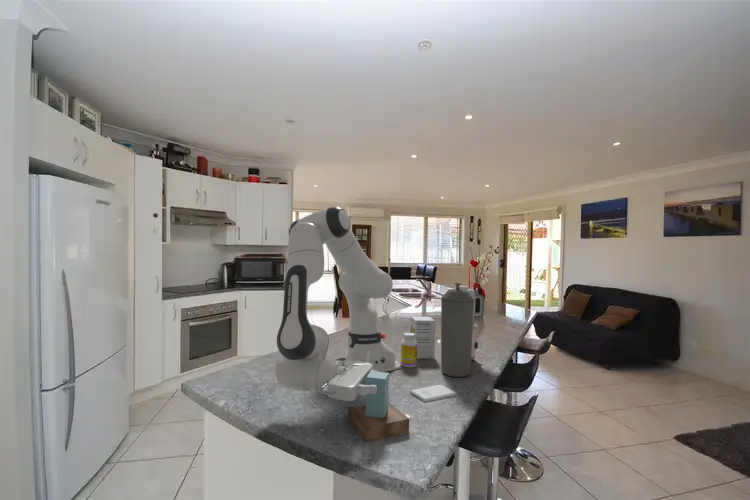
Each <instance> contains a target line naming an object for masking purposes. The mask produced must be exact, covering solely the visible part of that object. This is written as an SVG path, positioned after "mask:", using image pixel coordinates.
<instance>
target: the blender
mask: <svg viewBox="0 0 750 500" xmlns="http://www.w3.org/2000/svg"><path fill="white" fill-rule="evenodd" d="M459 288H460V289H461V290H466V291H467V292H468V293H469V294H470V295H471V296H472V298H473V299H474V308H473V323H474V320H475V319H476V318H477V319H478V318H479V319H480V318H482V317H484V316H485V315H484V313H485V298H484V296H483V294H480V293H476V291H475V289H472V288H469V286H467V285H459ZM450 289H456V287H454V288H447V291H448V290H450ZM476 298H477V299H479V301H480V303H479V304H480V306H479V313H476ZM473 329H474V328H473ZM473 329H472V347H471V361H472V360H473V361H474V360H475V359H476V358H475V357H476V349H478V348H479V343H478V342H477V341H476V335H475V333H474V330H473Z"/></svg>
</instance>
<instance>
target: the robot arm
mask: <svg viewBox="0 0 750 500" xmlns="http://www.w3.org/2000/svg"><path fill="white" fill-rule="evenodd" d="M288 236H289V238H288V246H287V271H286V272H287V273H286V276H285V283H284V294H283V295H284V296H283V307H282V319H281V323H280V325H279V328H278V331H277V334H276V335H277V336H276V346H277V350H278V352H279V353H280V354H281V357H280V358H279V359H278V360H277V362H276V364H275V377H276V380H277V383H278V384H280V385H281V386H282V387H283V388H287V389H289V390H295V391H300V392H309V391H311V392H315V393H317V394H322V395H323V394H324V395H327V396H328V397H329V398H331V399H333V400H339V401H344V402H354V401H355V400H356V398H357V397H359V395H366V394H370V393H371V394H376V393H377V392H378V386H377V385H373V384H371V385H366V377H367V376H368V374H369V373H370V372H371V371H374V372H384V373H388V372H390V371H395V370H399V369H401V368H402V365H401V362H399V361H397V360H396V355H395V352H394V350H393V349H391V347H389V346H388V345H387V344H386V343H385V342H383V341H382V339H383V340H385V339H386V337H387V335H386V334H385V333H381V332H379V331H378V323H379V322H378V320H379V318H378V315H379V314H378V312H377V309H376V308H375V307H374V306H373V304H372V302H371V299H373V300H376V299H385V298H387V297H388V296H389V295H390V294H391V292H392V290H393V285H394V284H393V279H392V276H390V274H388V273H387V272H385V271H383V269H381V268H380V267H378V266H377V264H375V263H374V262H373V260H371V259H370V258H369V257H368V256H367V254H366V253H365V251H364V250H363V248H362V246H361V245H360V243H359V241H358V239H357V238H356V236H355V234H354V231H352V229H351V220H350V216H349V215H348V213H347V212H346V210H344V209H343V208H341V206H340V207H339V206H331V207H328V208H326V209H325V208H324V209H322V210H318V211H314V212H312V213H310V214H308V215H306V216H304V217H302V218H298V219H296V220H295V221H293V222H292V223H291V224H290V226H289V228H288ZM324 244H325V246H326V248H327V250H328V251H329V253H330V254H331V257H332V258H333V260H334V262H335V263H336V264H337V266H338V268H339V269H340V270H341V271H342V272H341V273H340V275H339V276H338V277H339V278H338V287H339V289H340V290H341V291H342V292H343V294H344V296H345V298H346V299H345V300H346V302H347V306H348V309H349V331H348V334H347V335H348V336H347V346H348V349H347V356H346V357H340V358H336V359H325V358H326V356H327V352H328V349H329V344H330V337H329V335H328V332H327V331H326V330H325V329H324V328H322V327H320V326H319V325H315V324H311V323H310V320H309V318H308V296H309V295H308V294H309V293H308V292H309V288H310V286H311V285H314V284H315V283H317V282H318V281H320V279H321V278H322V277H323V275H324V270H325V254H324V253H325V252H324Z"/></svg>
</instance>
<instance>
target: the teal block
mask: <svg viewBox="0 0 750 500" xmlns="http://www.w3.org/2000/svg"><path fill="white" fill-rule="evenodd" d="M371 384H373V385H377V386H378V392H377V393H376V394H371V393H370V394H365V405H366V412H365V416H371V417H379V418H385V416H386V413H387V411H388V402H389V390H390V389H389V386H390V385H389V384H390V372H374V371H371V372H370V373H369V374H368V376H367V377H366V385H371Z"/></svg>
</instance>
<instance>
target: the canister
mask: <svg viewBox="0 0 750 500" xmlns="http://www.w3.org/2000/svg"><path fill="white" fill-rule="evenodd" d="M454 285H455V288H456V289H452V288H449V289H450V290H448V289H447V291H446V292H445V293H444V294H443V295H442V296H441V298H440V301H441V304H440V305H441V308H440V311H441V313H440V314H441V316H440V317H441V320H440V321H441V322H440V323H441V325H440V327H441V328H440V338H441V339H440V340H441V342H440V344H441V345H440V346H441V349H440V353H441V354H440V356H441V361H440V362H441V364H440V366H441V368H440V371H441V372H442V373H443V374H444V375H446V376H450V377H455V378H465V377H468V376H469V375H470V373H471V365H472V364H471V363H472V360H471V347H472V329H474V327H473V325H474V322H473V308H474V299H473V298H472V296H471V295H470V294H469V293H468V292H467V291H466V290H461V289H460V288H459V286H462V283H460V282H454Z"/></svg>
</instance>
